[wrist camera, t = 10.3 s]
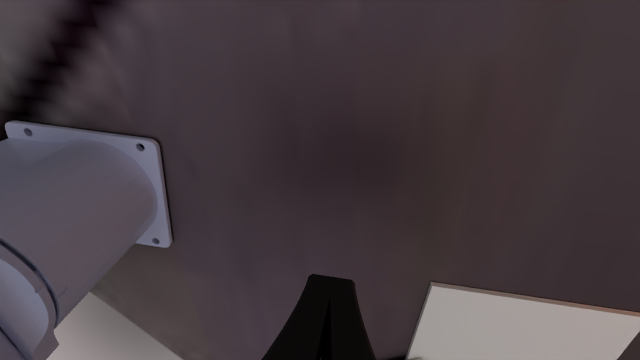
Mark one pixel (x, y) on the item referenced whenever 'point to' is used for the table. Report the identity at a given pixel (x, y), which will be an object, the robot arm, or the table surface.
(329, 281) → the robot arm
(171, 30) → the table surface
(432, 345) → the mat
